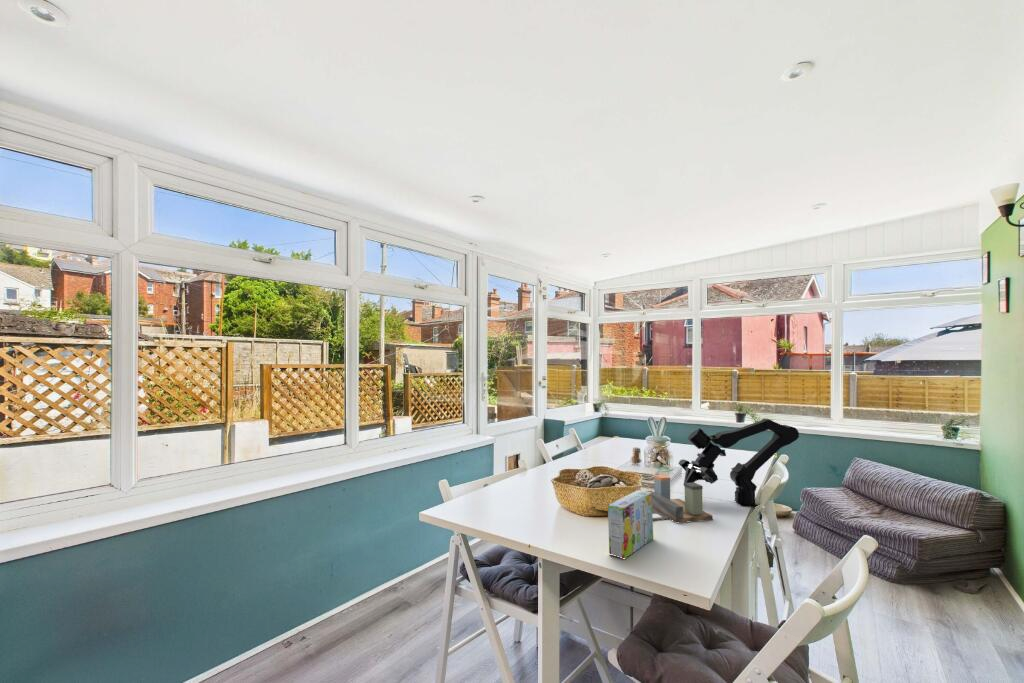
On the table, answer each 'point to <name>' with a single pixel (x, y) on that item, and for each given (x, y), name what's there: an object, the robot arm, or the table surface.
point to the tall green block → (693, 498)
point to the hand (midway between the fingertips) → (684, 486)
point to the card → (658, 515)
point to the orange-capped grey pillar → (662, 485)
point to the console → (675, 509)
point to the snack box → (630, 523)
